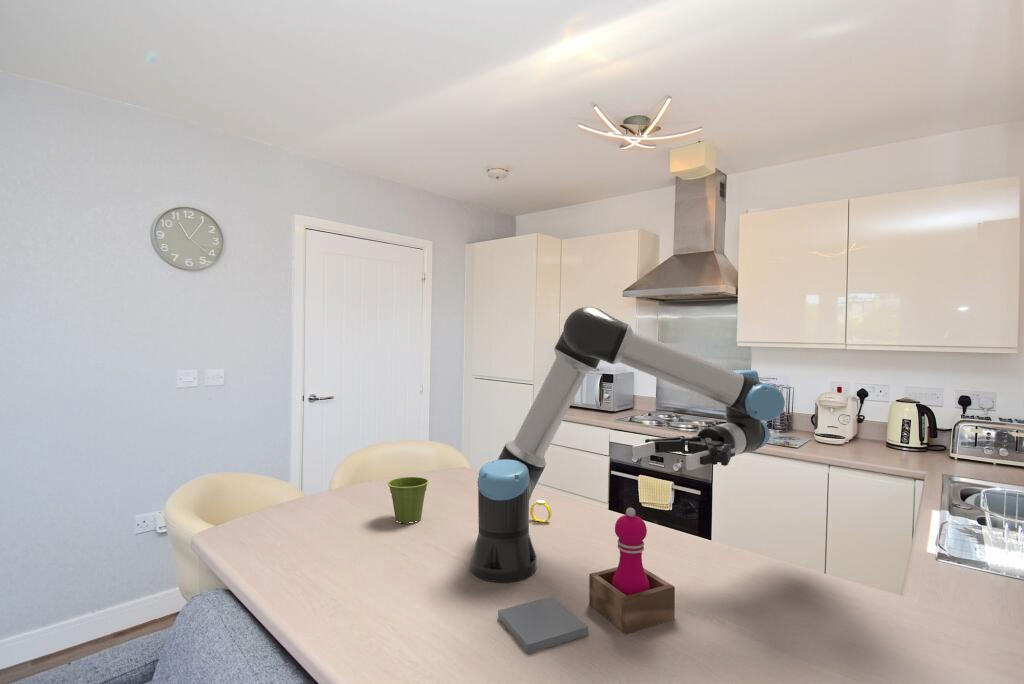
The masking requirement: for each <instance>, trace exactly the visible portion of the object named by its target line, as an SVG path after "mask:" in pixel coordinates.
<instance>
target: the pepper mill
mask: <svg viewBox="0 0 1024 684" xmlns="http://www.w3.org/2000/svg"><path fill="white" fill-rule="evenodd" d="M647 531H648V530H647V525H646V523H645V521H644V520H643V518H641V516H637V515H636V510H635V509H634V508H633V507H628V508H626V510H625V514H624V515H621V516H620V517H619V518H617V520H616V522H615V525H614V533H615V535H616V537H617V538H618V539H617V548H618V550H619V561H618V565H617V566H616V567H617V570H616V572H615V574H614V577H613V581H612V586H614V587H615V588H617V589H618V590H619V591H621V592H622V593H624V594H625V595H626V596H629V595H632V594H636V593H639V592H643V591H647V590H650V585H649V581H648V578H647V576H646V574H645V571H644V569H645V568H644V566H643V565H644V564H643V558H642V557H643V556H642V555H643V552H644V551H645V547H644V546H645V543H644V539H646V537H647V535H648V534H647V533H648V532H647Z"/></svg>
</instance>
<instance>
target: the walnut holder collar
mask: <svg viewBox="0 0 1024 684" xmlns="http://www.w3.org/2000/svg"><path fill="white" fill-rule="evenodd" d="M617 567H618V566H616V567H613V568H608V569H604V570H600V571H596V572H591V573H589V576H588V578H589V579H588V583H589V584H588V585H589V586H588V588H589V589H588V590H589V591H588V592H589V593H588V604H589V606H590V607H592V608H594V609H595V610H596V611H597V612H598V613H599V614H601V615H602V616H603V617H604V618H605V619H606V620H608V621H610V622H611V623H612V624H613V625H614V626H615V627H617V628H618V629H619V630H620V631H622V632H623V633H624V634H626V635H627V634H631V633H634V632H637V631H639V630H643V629H646V628H651V627H654V626H656V625H659V624H662V623H665V622H668V621H671V620H674V619H675V612H676V611H675V608H676V607H675V604H676V603H675V602H676V601H675V600H676V599H675V598H676V597H675V591H676V589H675V586H674V585H673V584H671V583H669V582H668V581H666V580H665V579H662V578H661V577H659V576H658V575H656V574H654V573H652V572H651V571H649V569H646V568H644V571H645V574H646V576H647V578H648V581H649V585H650V590H647V591H643V592H639V593H636V594H632V595H629V596H626V595H625V594H624V593H622V592H621V591H619V590H618V589H617V588H615V587H614V586H612V581H613V577H614V574H615V572H616V570H617Z"/></svg>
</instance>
